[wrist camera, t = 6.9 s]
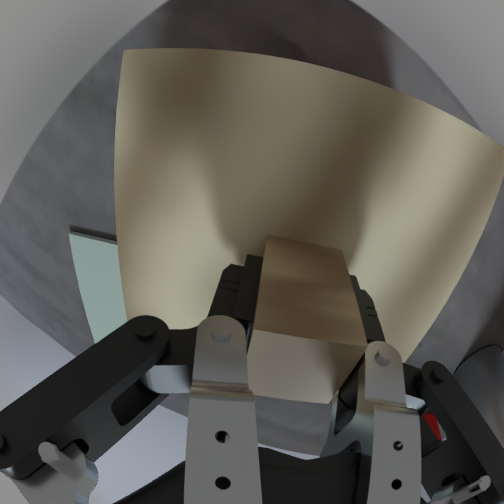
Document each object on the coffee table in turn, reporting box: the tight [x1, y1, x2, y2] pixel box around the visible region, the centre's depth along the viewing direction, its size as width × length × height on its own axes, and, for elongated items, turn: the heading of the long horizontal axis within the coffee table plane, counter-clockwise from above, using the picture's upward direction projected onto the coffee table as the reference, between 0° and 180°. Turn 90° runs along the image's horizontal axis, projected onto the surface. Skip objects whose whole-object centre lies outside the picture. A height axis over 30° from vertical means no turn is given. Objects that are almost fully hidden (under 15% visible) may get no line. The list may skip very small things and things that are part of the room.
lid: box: [114, 48, 504, 404], centre depth 10 cm, size 16×16×6 cm
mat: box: [69, 231, 127, 344], centre depth 30 cm, size 18×18×1 cm
